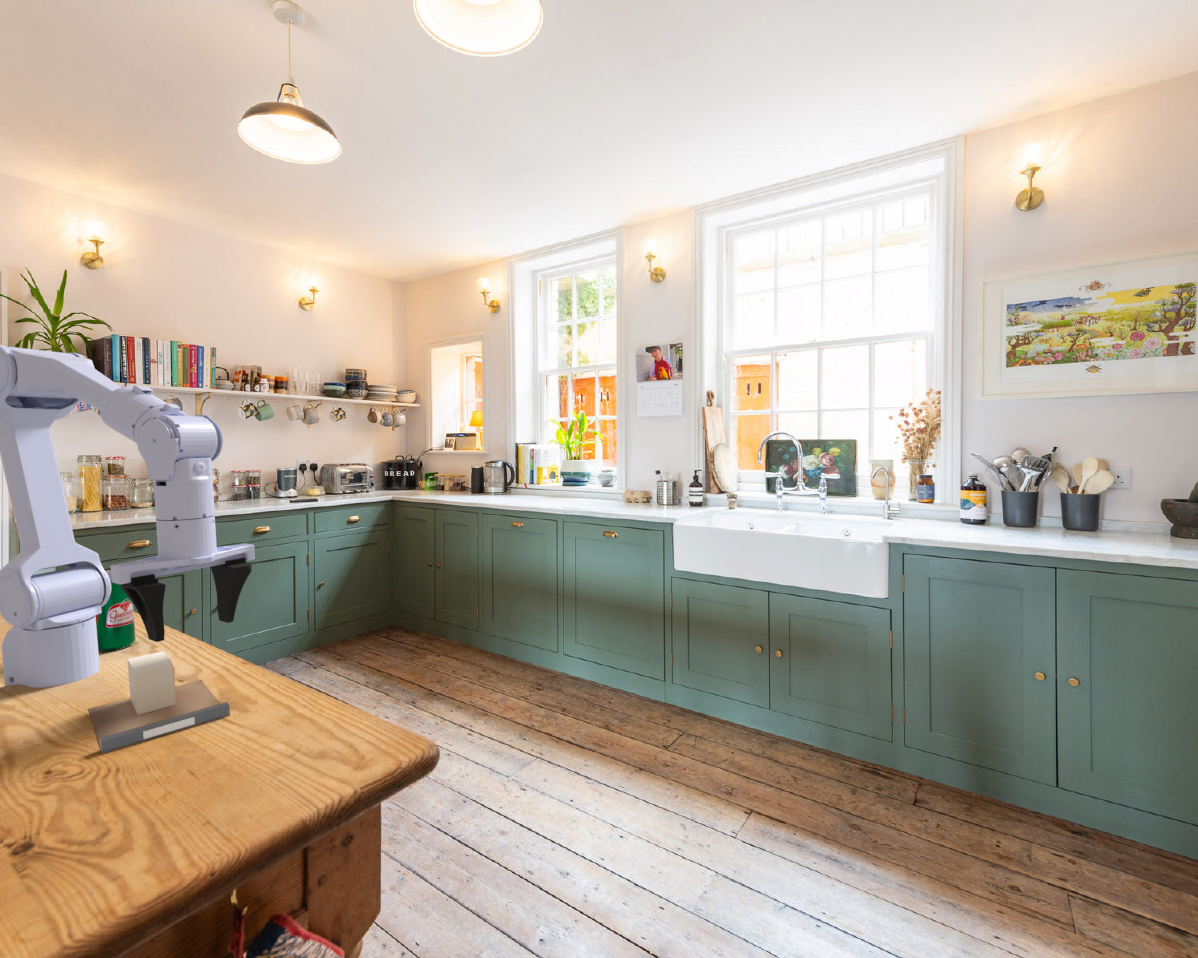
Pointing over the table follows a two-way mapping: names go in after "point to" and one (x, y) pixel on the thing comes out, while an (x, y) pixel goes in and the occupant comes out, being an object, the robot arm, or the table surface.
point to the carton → (151, 682)
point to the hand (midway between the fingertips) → (193, 629)
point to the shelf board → (126, 717)
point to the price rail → (163, 727)
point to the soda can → (115, 620)
